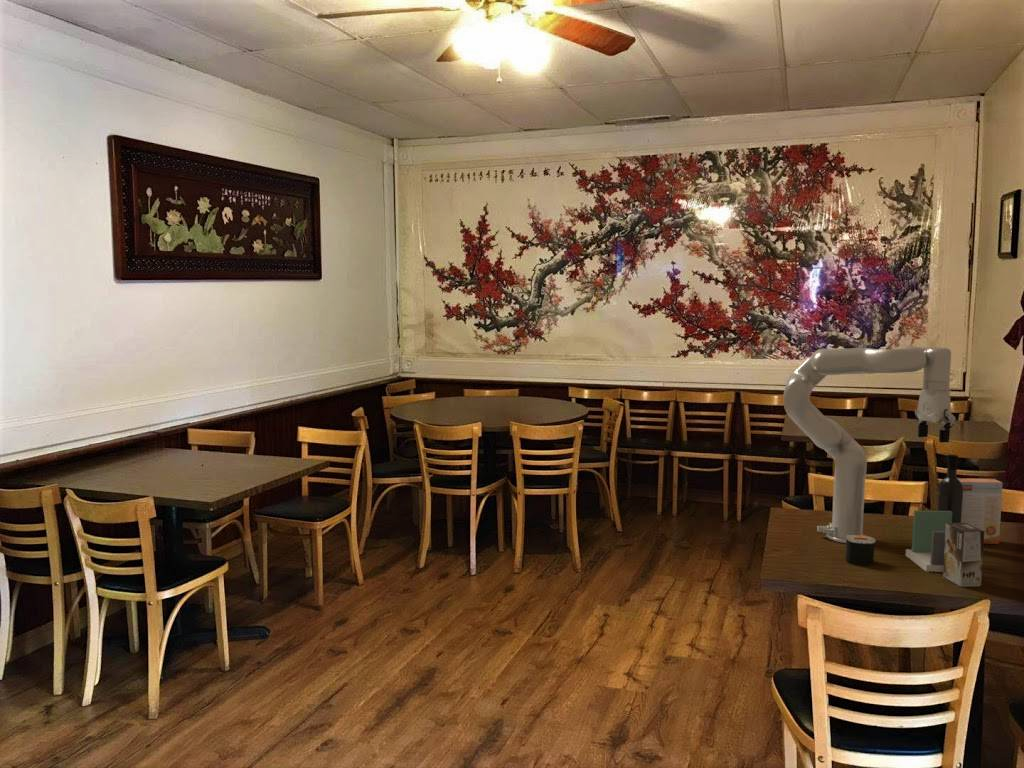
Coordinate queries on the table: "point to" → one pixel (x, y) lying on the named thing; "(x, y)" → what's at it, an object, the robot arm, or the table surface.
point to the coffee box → (963, 554)
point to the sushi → (860, 550)
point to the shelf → (929, 539)
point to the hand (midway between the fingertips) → (933, 439)
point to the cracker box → (982, 506)
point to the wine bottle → (951, 491)
